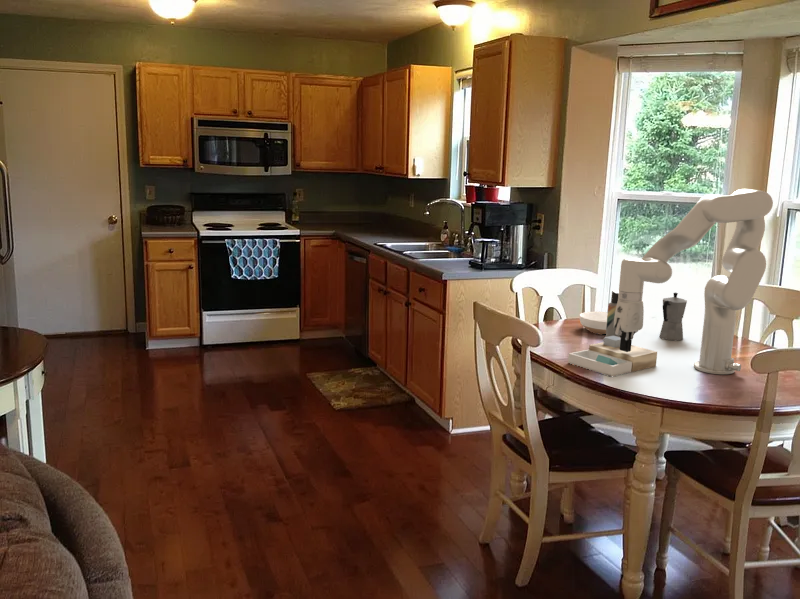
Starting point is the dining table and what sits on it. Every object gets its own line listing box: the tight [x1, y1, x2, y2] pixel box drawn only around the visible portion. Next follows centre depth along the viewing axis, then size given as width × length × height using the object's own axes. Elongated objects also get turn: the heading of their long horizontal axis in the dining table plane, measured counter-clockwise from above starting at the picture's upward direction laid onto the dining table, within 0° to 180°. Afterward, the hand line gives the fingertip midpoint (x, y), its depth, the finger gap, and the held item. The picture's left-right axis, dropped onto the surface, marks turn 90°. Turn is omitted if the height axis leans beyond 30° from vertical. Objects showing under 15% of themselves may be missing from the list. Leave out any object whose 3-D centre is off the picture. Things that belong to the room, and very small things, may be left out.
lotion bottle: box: [605, 289, 620, 337], centre depth 275 cm, size 6×6×20 cm
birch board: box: [588, 341, 658, 373], centre depth 250 cm, size 18×13×5 cm
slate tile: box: [603, 336, 621, 348], centre depth 253 cm, size 5×5×2 cm
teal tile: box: [596, 355, 618, 365], centre depth 239 cm, size 5×5×2 cm
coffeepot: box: [659, 292, 688, 341], centre depth 285 cm, size 15×9×18 cm, turn 134°
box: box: [567, 349, 632, 378], centre depth 243 cm, size 18×10×4 cm, turn 36°
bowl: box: [579, 311, 608, 335], centre depth 295 cm, size 20×20×6 cm
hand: (625, 350), depth 243 cm, fingers closed
